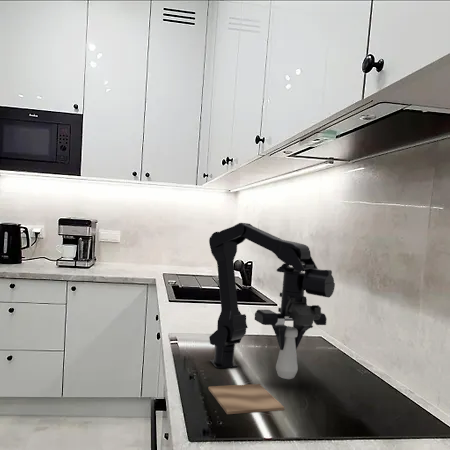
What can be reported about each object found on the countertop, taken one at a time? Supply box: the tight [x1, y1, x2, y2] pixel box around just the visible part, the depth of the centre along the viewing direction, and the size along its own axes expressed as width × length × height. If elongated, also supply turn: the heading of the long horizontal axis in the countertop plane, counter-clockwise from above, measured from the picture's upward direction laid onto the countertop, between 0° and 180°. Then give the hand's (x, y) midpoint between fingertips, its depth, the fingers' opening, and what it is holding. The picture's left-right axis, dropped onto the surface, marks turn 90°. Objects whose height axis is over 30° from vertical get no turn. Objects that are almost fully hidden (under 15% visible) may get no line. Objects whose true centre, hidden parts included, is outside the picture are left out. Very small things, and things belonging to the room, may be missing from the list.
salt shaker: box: [275, 325, 299, 380], centre depth 111 cm, size 6×6×13 cm
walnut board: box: [207, 383, 285, 415], centre depth 100 cm, size 14×14×1 cm
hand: (288, 349), depth 111 cm, fingers closed on salt shaker, 3 cm apart
